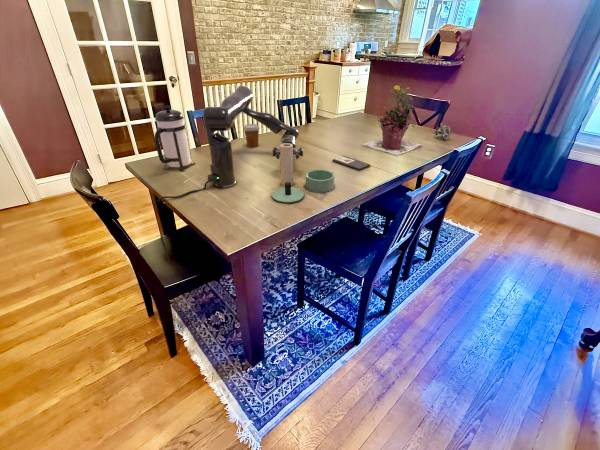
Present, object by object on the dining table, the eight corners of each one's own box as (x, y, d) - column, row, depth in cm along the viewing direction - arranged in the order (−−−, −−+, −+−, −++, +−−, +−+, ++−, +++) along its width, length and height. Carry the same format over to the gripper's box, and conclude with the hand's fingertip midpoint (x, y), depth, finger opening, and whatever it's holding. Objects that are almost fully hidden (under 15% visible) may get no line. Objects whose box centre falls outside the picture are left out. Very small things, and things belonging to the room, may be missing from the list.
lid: (270, 203, 123) (269, 190, 120) (273, 189, 134) (272, 176, 131) (304, 203, 123) (304, 190, 120) (304, 189, 134) (304, 176, 131)
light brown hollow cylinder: (287, 187, 136) (286, 147, 126) (278, 184, 139) (277, 145, 129) (295, 183, 139) (295, 145, 130) (287, 180, 142) (286, 142, 133)
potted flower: (396, 155, 172) (408, 88, 153) (362, 145, 188) (369, 83, 169) (421, 146, 187) (435, 83, 168) (387, 137, 203) (396, 79, 184)
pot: (305, 192, 132) (305, 180, 129) (305, 180, 142) (305, 169, 140) (334, 192, 132) (335, 180, 129) (332, 180, 142) (333, 169, 139)
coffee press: (161, 164, 160) (146, 103, 144) (193, 159, 165) (182, 101, 150) (163, 175, 147) (146, 110, 131) (197, 171, 152) (185, 107, 136)
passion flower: (443, 148, 201) (446, 136, 190) (428, 142, 206) (430, 130, 195) (452, 135, 203) (456, 123, 192) (436, 130, 208) (439, 117, 197)
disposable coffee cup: (263, 145, 187) (262, 125, 181) (251, 149, 181) (250, 128, 175) (253, 142, 193) (252, 123, 186) (241, 145, 187) (239, 125, 180)
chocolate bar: (359, 168, 152) (332, 159, 163) (359, 170, 153) (332, 161, 164) (370, 164, 157) (343, 155, 169) (370, 166, 158) (343, 157, 169)
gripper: (302, 153, 154) (302, 165, 141) (274, 153, 154) (272, 164, 141) (302, 138, 150) (303, 149, 137) (274, 138, 150) (271, 149, 137)
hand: (287, 157), depth 139 cm, fingers open, 8 cm apart
